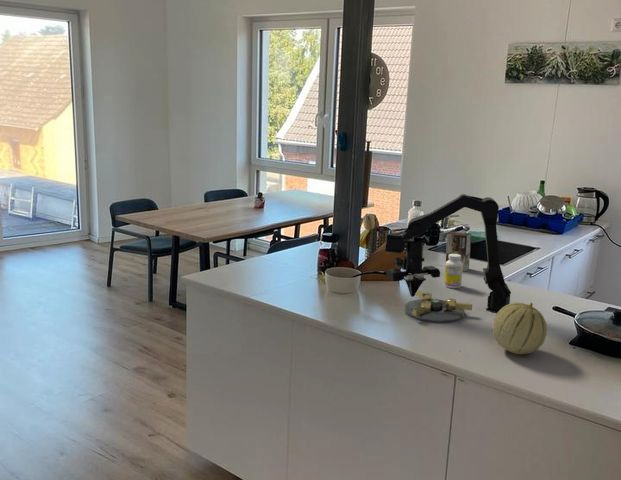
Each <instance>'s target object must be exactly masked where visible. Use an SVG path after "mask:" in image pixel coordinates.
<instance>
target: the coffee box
mask: <svg viewBox="0 0 621 480" xmlns="http://www.w3.org/2000/svg"><path fill="white" fill-rule="evenodd" d="M471 242H472V233H471V232H470V233H469V232H462V231H456V230H455V231H454V230H453V231H452V230H451V231H450V232H448V233H447V234H446V249H445V250H446V252H445V253H446V254H445V263H446V262H447V261H448V260H449V258H448V257H449V254H459V255H461V259H460V261H461V262H462V263H463V269H462V272H466V271H468V270H469V269H470V256H471Z"/></svg>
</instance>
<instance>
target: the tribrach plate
mask: <svg viewBox="0 0 621 480" xmlns="http://www.w3.org/2000/svg"><path fill="white" fill-rule="evenodd" d="M427 301H430V302H431V312H430V313H422V314H420V315H418V316H414V315H413V309H415V308H417V307H419V306H421V303H422V299H420V298H418V299H415V300H410V301H408V302H407V303H406V304H405V306H404V311H405V314H406V315H407V316H408V317H410V318H413V319H415V320H419V321H421V322H428V323H437V324H446V323H454V322H455V323H456V322H458V321H461V320H462V319H463V318H464V317H465V310H460V309H456V310H447V309H446V301H447V300H443V299H438V298H432V299H428V300H427Z"/></svg>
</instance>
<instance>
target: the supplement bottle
mask: <svg viewBox="0 0 621 480" xmlns="http://www.w3.org/2000/svg"><path fill="white" fill-rule="evenodd" d="M448 258H449V260H448V261H447V262H446V261H445V269H444V280H443V281H444V286H445V287H446V288H448V289H460V288H461V287H462V284H463V283H462V281H463V271H462V269H463V263H462V262H461V261H460V259H461V255H459V254H449V257H448Z"/></svg>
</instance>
